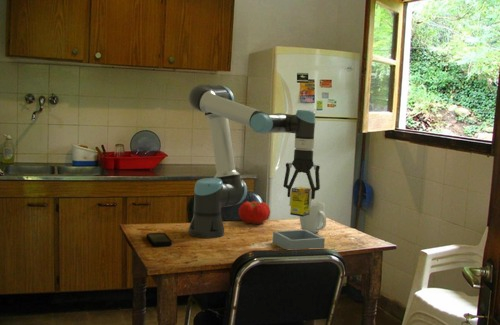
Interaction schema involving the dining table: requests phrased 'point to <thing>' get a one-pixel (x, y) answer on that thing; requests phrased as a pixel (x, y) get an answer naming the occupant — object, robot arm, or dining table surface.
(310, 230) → the mug
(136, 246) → the dining table surface
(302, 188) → the supplement box
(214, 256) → the dining table surface
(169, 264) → the dining table surface
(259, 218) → the tomato
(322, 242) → the bin
